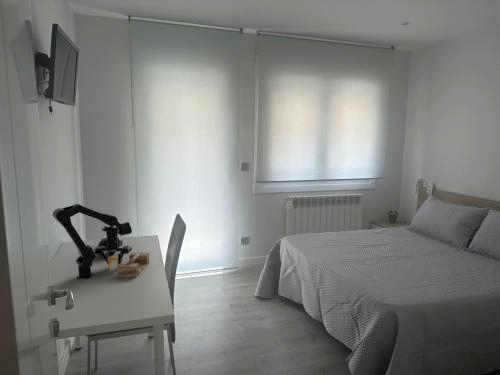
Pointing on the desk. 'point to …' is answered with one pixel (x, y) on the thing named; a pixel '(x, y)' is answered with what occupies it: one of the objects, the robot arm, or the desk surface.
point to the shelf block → (133, 265)
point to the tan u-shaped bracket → (111, 261)
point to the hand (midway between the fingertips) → (114, 264)
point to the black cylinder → (103, 243)
